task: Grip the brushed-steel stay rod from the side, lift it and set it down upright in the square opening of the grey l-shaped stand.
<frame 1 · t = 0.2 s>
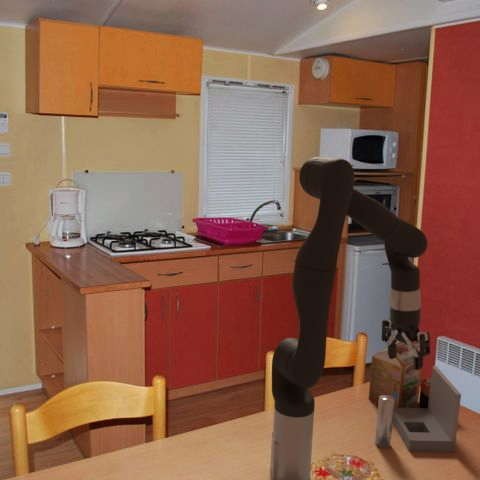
hand: (405, 363, 155), 22 cm above the table, tool pointing down, fingers open, 8 cm apart
grey l-shaped stand: (420, 433, 163), on the table
stay rod: (382, 444, 157), on the table
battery: (431, 411, 177), on the table
milk carton: (393, 401, 183), on the table
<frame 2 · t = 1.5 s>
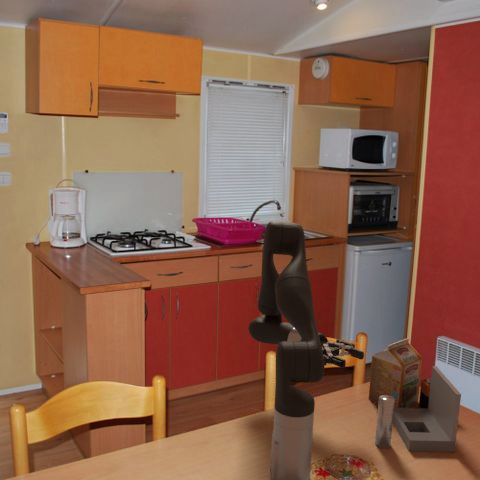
hand: (354, 360, 160), 20 cm above the table, tool horizontal, fingers open, 8 cm apart
nothing on the table moved.
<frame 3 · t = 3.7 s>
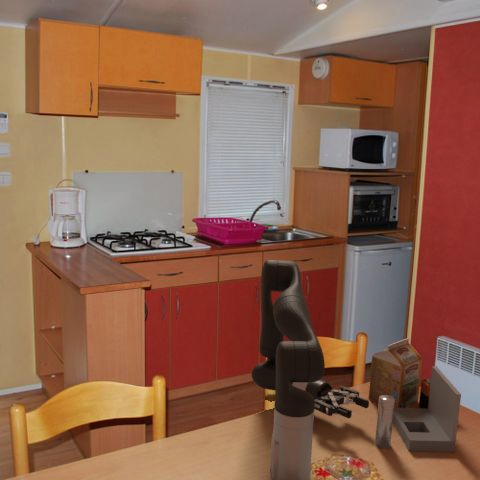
hand: (359, 409, 161), 7 cm above the table, tool horizontal, fingers open, 8 cm apart
nothing on the table moved.
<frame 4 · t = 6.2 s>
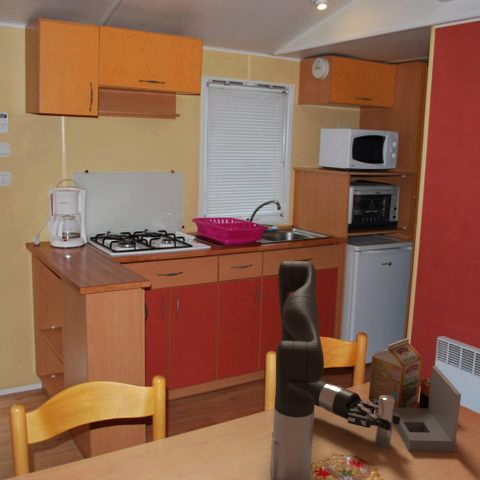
hand: (394, 423, 154), 7 cm above the table, tool horizontal, fingers closed on stay rod, 4 cm apart
stay rod: (382, 444, 157), on the table, touching gripper
everything else where it was.
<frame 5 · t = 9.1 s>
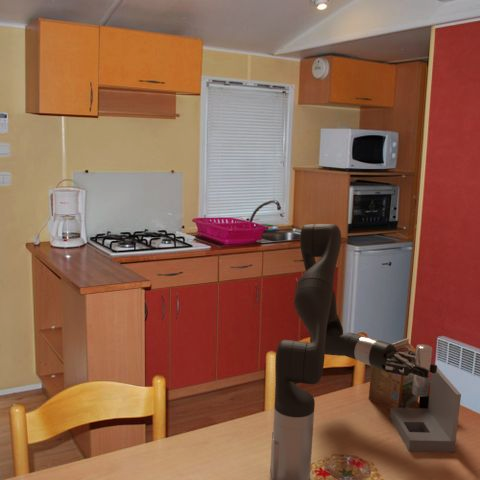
hand: (432, 371, 155), 20 cm above the table, tool horizontal, fingers closed on stay rod, 4 cm apart
stay rod: (419, 393, 159), point 13 cm above the table, touching gripper
everything else where it was.
when the fingers open (8 cm above the table, at t = 12.1 s): stay rod drops 1 cm, resting in grey l-shaped stand.
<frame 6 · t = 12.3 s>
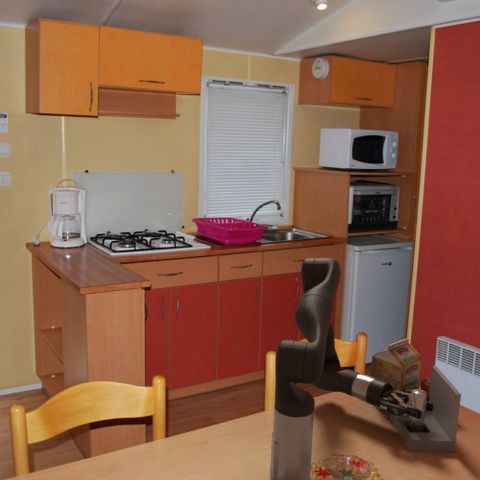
hand: (427, 411, 158), 8 cm above the table, tool horizontal, fingers open, 6 cm apart
stay rod: (415, 437, 161), resting in grey l-shaped stand
everything else where it was.
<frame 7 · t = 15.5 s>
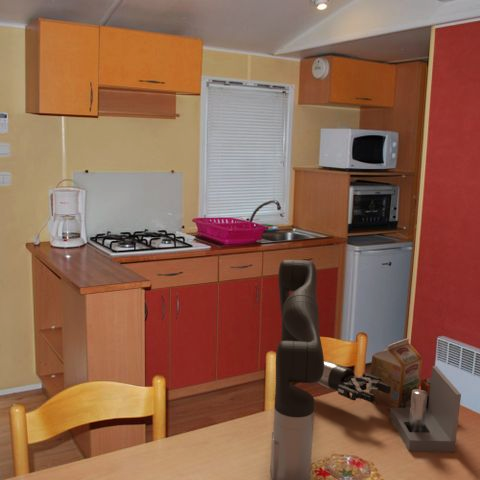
hand: (382, 394, 167), 9 cm above the table, tool horizontal, fingers open, 8 cm apart
nothing on the table moved.
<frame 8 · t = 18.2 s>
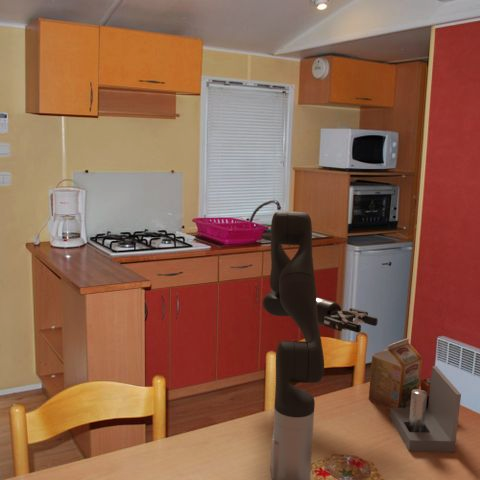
hand: (368, 325, 165), 28 cm above the table, tool horizontal, fingers open, 8 cm apart
nothing on the table moved.
at the end: stay rod 0.1 cm from the target spot on the grey l-shaped stand, point 0.0 cm above the grey l-shaped stand's base; stay rod tilted 0°; the gripper is holding nothing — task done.
